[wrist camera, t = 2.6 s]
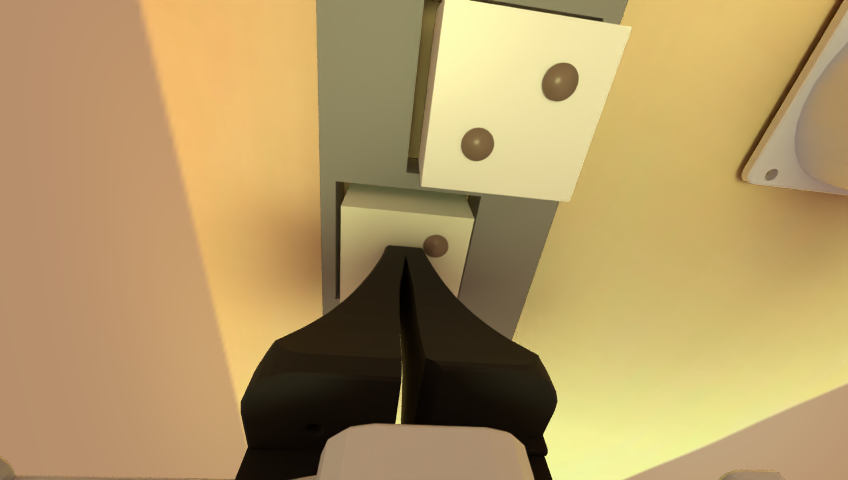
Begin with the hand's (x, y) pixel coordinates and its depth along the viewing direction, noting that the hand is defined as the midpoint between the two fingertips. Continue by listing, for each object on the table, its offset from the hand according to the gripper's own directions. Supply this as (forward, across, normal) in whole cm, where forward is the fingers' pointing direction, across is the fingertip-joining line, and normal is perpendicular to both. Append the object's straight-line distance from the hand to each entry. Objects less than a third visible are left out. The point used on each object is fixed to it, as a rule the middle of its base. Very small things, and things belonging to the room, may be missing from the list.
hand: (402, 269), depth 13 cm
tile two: (+2, -2, -6) cm, 7 cm away
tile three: (+3, 0, 0) cm, 3 cm away
